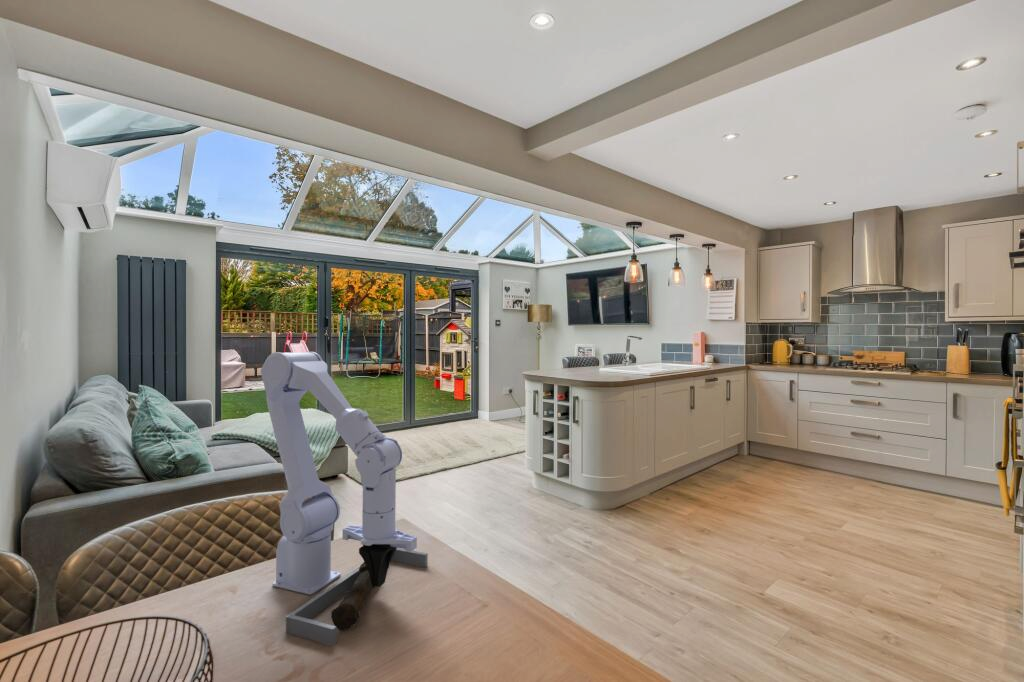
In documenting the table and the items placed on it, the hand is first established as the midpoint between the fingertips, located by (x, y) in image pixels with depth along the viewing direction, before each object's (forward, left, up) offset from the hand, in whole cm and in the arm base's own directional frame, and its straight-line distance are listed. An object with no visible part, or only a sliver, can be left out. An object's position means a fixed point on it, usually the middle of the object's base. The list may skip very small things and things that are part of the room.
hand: (378, 584), depth 85 cm
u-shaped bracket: (-3, 0, -2) cm, 3 cm away
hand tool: (-2, -2, -2) cm, 4 cm away
